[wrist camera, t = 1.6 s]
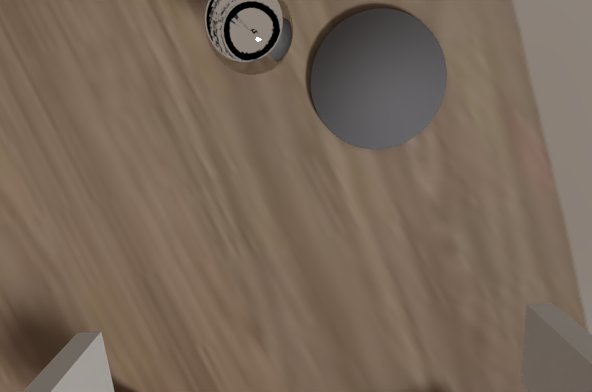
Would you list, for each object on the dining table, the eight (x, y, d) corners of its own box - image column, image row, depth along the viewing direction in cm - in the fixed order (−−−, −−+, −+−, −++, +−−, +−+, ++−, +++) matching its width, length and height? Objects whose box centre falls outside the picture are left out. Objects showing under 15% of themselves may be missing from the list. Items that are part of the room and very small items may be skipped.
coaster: (305, 16, 35) (305, 15, 34) (444, 3, 34) (446, 1, 34) (315, 153, 38) (315, 154, 37) (444, 142, 37) (446, 143, 37)
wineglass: (276, 90, 36) (265, 89, 25) (218, 59, 36) (179, 42, 24) (306, 30, 35) (309, -1, 23) (247, -3, 34) (220, -53, 23)
